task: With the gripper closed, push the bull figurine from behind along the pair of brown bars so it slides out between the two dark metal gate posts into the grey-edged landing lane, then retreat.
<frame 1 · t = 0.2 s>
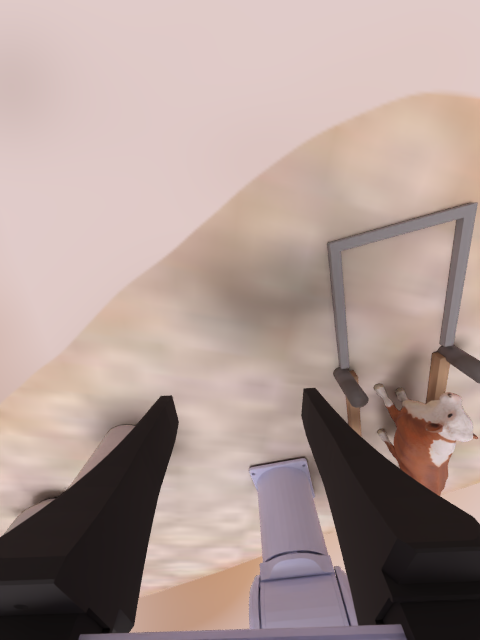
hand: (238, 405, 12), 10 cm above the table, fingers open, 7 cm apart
pair of brown bars: (390, 405, 26), on the table
teacup: (57, 506, 35), on the table
lane: (393, 301, 20), on the table
coffee cup: (133, 440, 28), on the table
bull figurine: (389, 400, 26), on the table
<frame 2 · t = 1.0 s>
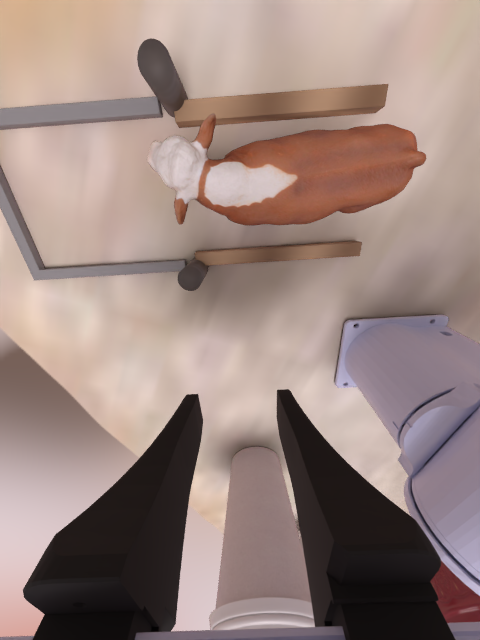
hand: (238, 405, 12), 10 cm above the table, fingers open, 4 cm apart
pair of brown bars: (276, 189, 16), on the table
canister: (432, 540, 41), on the table
lane: (96, 202, 17), on the table
coffee cup: (255, 460, 30), on the table
bull figurine: (268, 190, 17), on the table
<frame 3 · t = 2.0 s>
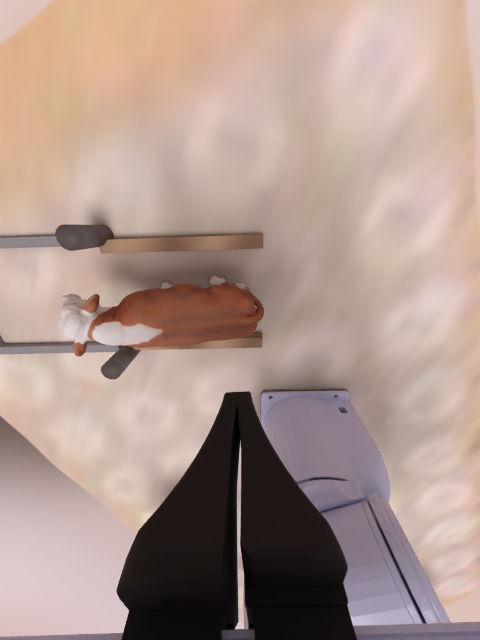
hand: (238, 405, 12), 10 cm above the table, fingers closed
pair of brown bars: (190, 295, 20), on the table
lane: (45, 299, 20), on the table
bull figurine: (185, 294, 20), on the table
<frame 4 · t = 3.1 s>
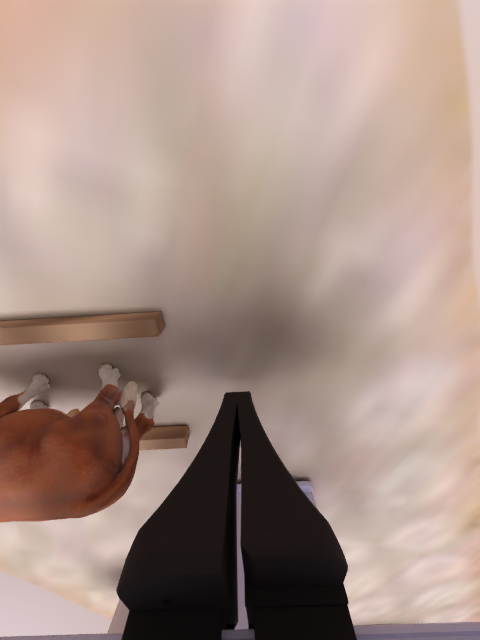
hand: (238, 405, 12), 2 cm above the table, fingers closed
pair of brown bars: (78, 387, 14), on the table
coffee cup: (153, 581, 28), on the table
bull figurine: (73, 385, 15), on the table
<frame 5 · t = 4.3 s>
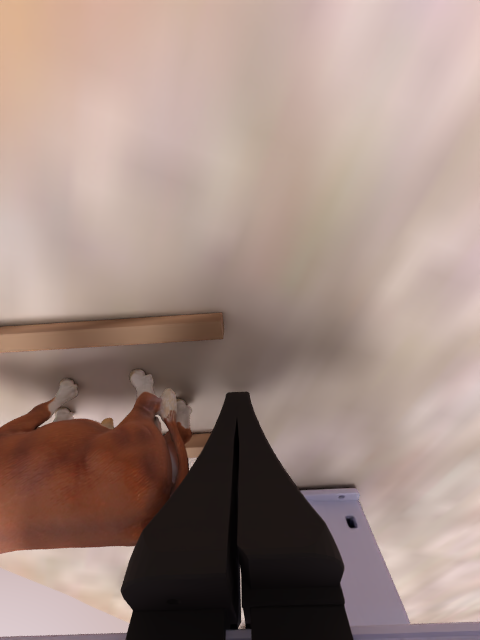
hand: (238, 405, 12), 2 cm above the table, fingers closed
pair of brown bars: (125, 393, 14), on the table
bull figurine: (101, 391, 14), on the table, touching gripper
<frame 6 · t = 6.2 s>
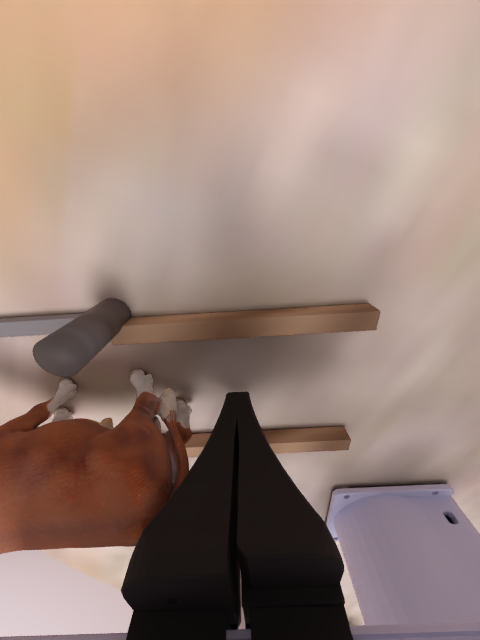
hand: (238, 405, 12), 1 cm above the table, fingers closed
pair of brown bars: (246, 386, 13), on the table
lane: (30, 397, 14), on the table
bull figurine: (101, 391, 14), on the table, touching gripper
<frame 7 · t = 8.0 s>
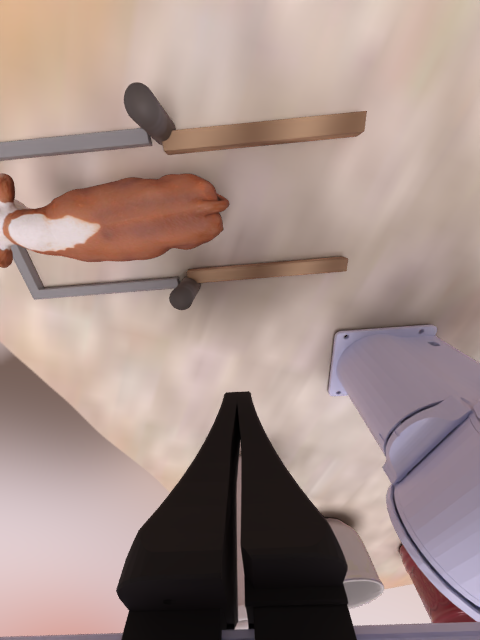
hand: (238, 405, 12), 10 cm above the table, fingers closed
pair of brown bars: (263, 210, 17), on the table
teacup: (321, 529, 39), on the table
canister: (432, 542, 41), on the table
lane: (91, 225, 17), on the table
coffee cup: (253, 466, 31), on the table
bull figurine: (147, 220, 17), on the table
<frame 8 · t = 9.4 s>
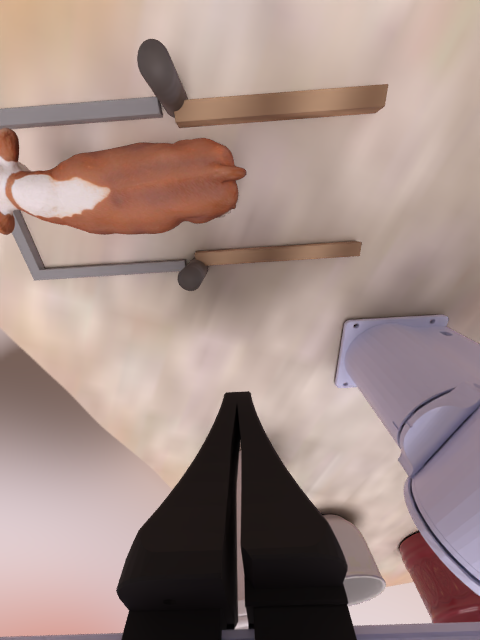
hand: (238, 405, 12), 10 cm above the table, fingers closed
pair of brown bars: (276, 190, 16), on the table
teacup: (322, 526, 38), on the table
canister: (432, 540, 41), on the table
lane: (96, 202, 17), on the table
coffee cup: (255, 460, 30), on the table
bull figurine: (155, 198, 17), on the table
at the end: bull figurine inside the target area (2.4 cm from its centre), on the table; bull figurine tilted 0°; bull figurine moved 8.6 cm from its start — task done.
